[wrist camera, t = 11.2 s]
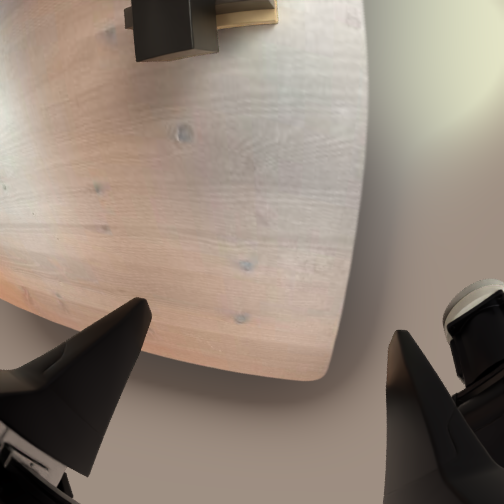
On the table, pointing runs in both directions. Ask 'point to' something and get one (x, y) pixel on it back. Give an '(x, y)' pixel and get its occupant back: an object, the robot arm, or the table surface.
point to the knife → (173, 29)
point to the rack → (234, 13)
